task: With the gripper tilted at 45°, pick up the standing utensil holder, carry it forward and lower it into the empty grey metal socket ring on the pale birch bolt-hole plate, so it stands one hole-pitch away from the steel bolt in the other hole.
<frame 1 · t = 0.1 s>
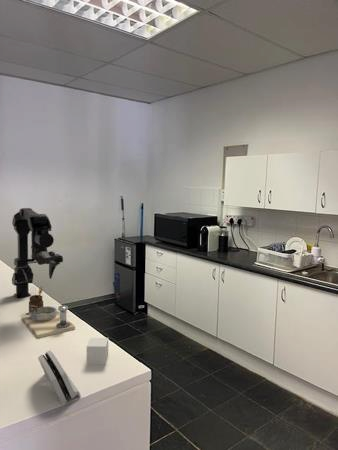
hand: (39, 280, 143), 15 cm above the counter, tool pointing down, fingers open, 9 cm apart
grey cube: (97, 360, 108), on the counter
utensil holder: (36, 312, 146), on the counter
bolt-hole plate: (47, 323, 134), on the counter
grey electronic device: (57, 387, 93), on the counter
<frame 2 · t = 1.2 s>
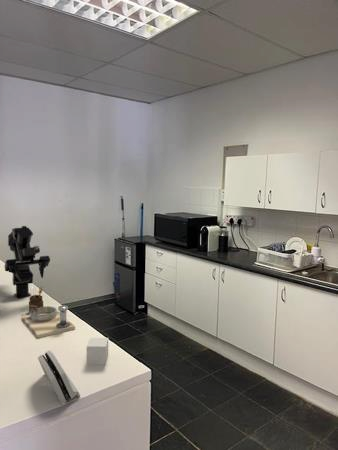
hand: (31, 279, 149), 13 cm above the counter, tool tilted 45°, fingers open, 9 cm apart
nothing on the counter moved.
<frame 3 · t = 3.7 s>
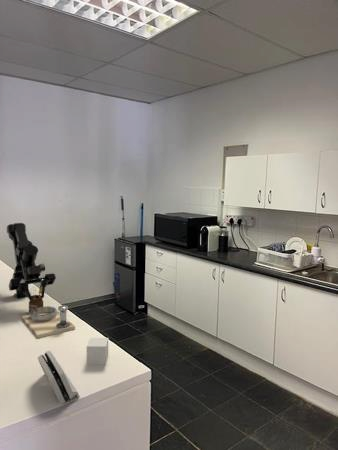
hand: (37, 298, 144), 7 cm above the counter, tool tilted 45°, fingers closed on utensil holder, 5 cm apart
utensil holder: (36, 312, 146), on the counter, touching gripper
everything else where it was.
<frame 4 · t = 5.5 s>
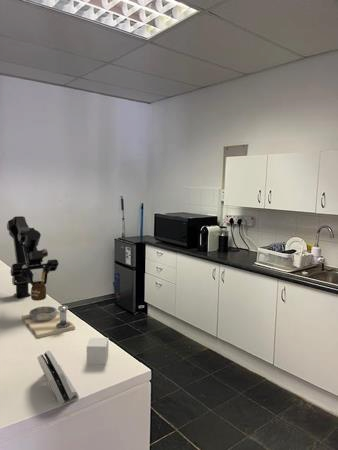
hand: (39, 284, 140), 14 cm above the counter, tool tilted 45°, fingers closed on utensil holder, 5 cm apart
utensil holder: (38, 299, 142), point 7 cm above the counter, touching gripper
everything else where it was.
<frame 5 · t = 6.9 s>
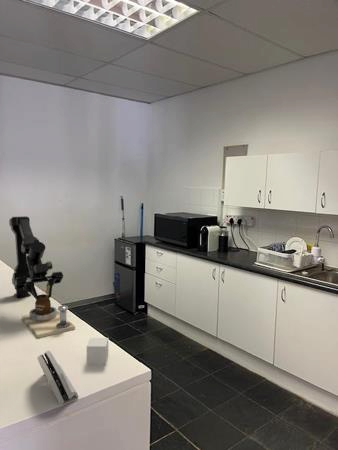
hand: (44, 298, 136), 9 cm above the counter, tool tilted 45°, fingers closed on utensil holder, 5 cm apart
utensil holder: (43, 313, 138), point 3 cm above the counter, touching gripper
everything else where it was.
when the fingers open (9 cm above the counter, at t = 7.4 s): utensil holder drops 1 cm, resting on bolt-hole plate.
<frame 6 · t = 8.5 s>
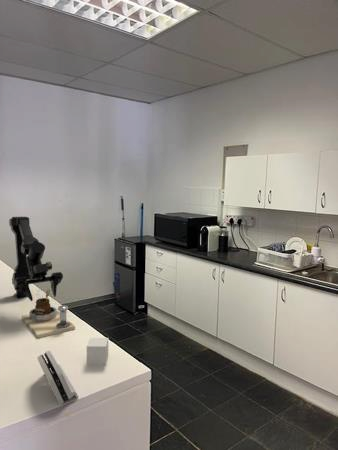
hand: (43, 298, 136), 9 cm above the counter, tool tilted 45°, fingers open, 9 cm apart
utensil holder: (43, 317, 138), point 1 cm above the counter, touching bolt-hole plate
everything else where it was.
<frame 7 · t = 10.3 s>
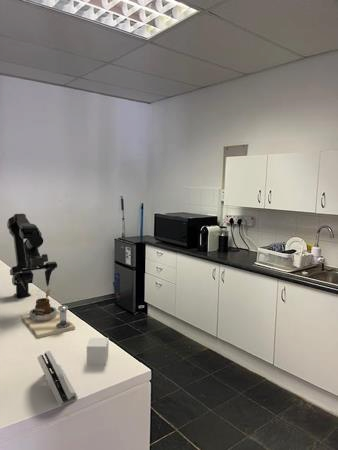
hand: (36, 287, 145), 11 cm above the counter, tool tilted 25°, fingers open, 9 cm apart
nothing on the counter moved.
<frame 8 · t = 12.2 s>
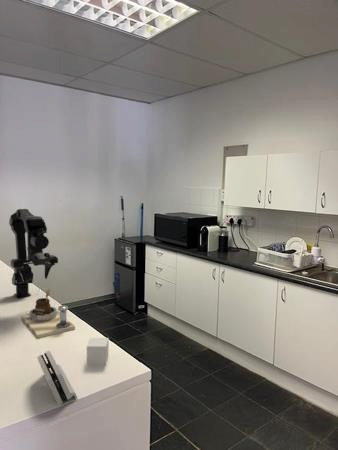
hand: (35, 280, 148), 13 cm above the counter, tool pointing down, fingers open, 9 cm apart
nothing on the counter moved.
at the end: utensil holder 0.2 cm from the target spot, point 1.0 cm above the counter; utensil holder tilted 0°; the gripper is holding nothing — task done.
